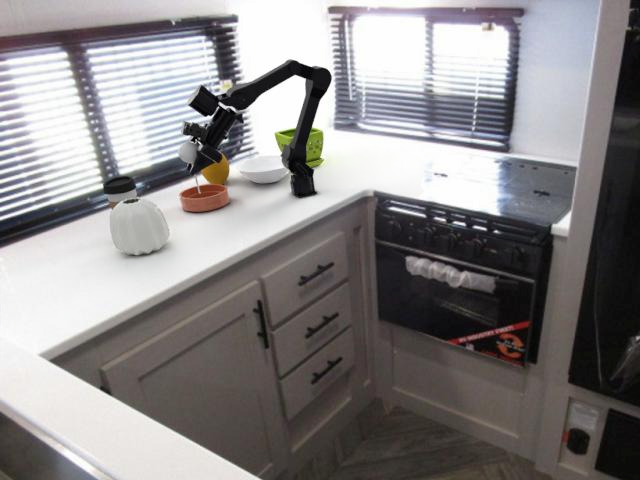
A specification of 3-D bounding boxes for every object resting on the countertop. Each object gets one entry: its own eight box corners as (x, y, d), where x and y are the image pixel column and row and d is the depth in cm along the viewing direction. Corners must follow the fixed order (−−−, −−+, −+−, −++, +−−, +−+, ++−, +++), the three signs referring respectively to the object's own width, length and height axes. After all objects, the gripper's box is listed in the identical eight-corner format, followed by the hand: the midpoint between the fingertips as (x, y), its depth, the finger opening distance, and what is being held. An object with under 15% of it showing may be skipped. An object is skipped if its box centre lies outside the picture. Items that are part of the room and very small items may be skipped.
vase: (118, 264, 143) (101, 214, 136) (117, 245, 154) (102, 197, 148) (175, 252, 148) (162, 203, 141) (170, 234, 159) (158, 188, 152)
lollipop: (195, 198, 165) (182, 146, 157) (185, 194, 168) (171, 143, 161) (214, 192, 168) (202, 141, 161) (203, 188, 172) (191, 138, 165)
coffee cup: (155, 226, 165) (140, 176, 158) (134, 238, 158) (118, 185, 151) (132, 224, 168) (116, 174, 160) (110, 236, 161) (93, 184, 153)
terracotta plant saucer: (223, 194, 188) (220, 181, 186) (235, 206, 177) (232, 192, 175) (178, 204, 182) (174, 190, 180) (188, 216, 171) (184, 202, 169)
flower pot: (312, 158, 221) (307, 124, 215) (328, 165, 210) (324, 130, 204) (278, 165, 214) (272, 131, 208) (293, 173, 204) (288, 137, 198)
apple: (210, 180, 203) (202, 147, 197) (236, 179, 202) (229, 145, 196) (199, 188, 195) (191, 154, 189) (227, 188, 194) (219, 153, 188)
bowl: (306, 181, 195) (304, 162, 192) (251, 194, 186) (248, 175, 183) (282, 169, 210) (280, 152, 207) (230, 181, 200) (227, 163, 197)
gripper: (188, 104, 166) (159, 149, 167) (200, 114, 151) (168, 163, 152) (221, 127, 173) (193, 170, 174) (236, 139, 158) (205, 186, 159)
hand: (189, 172), depth 165 cm, fingers closed on lollipop, 5 cm apart
